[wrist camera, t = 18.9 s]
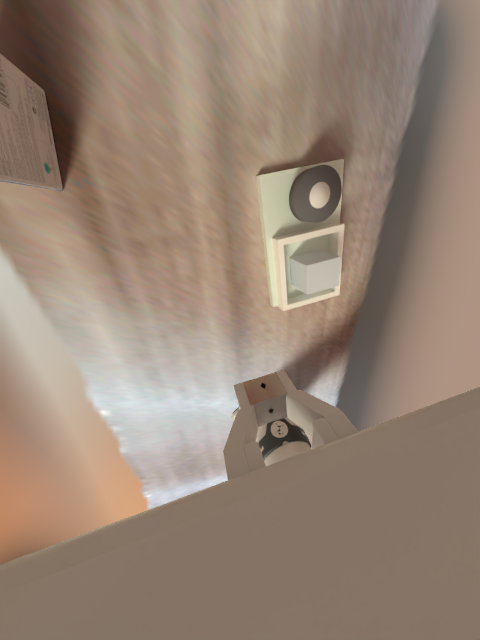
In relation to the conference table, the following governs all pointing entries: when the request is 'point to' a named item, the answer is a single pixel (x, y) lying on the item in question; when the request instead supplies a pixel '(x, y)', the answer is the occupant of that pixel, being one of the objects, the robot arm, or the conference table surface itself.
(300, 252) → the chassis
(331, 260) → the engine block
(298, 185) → the wheel
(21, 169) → the ink cartridge box
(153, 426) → the conference table surface
